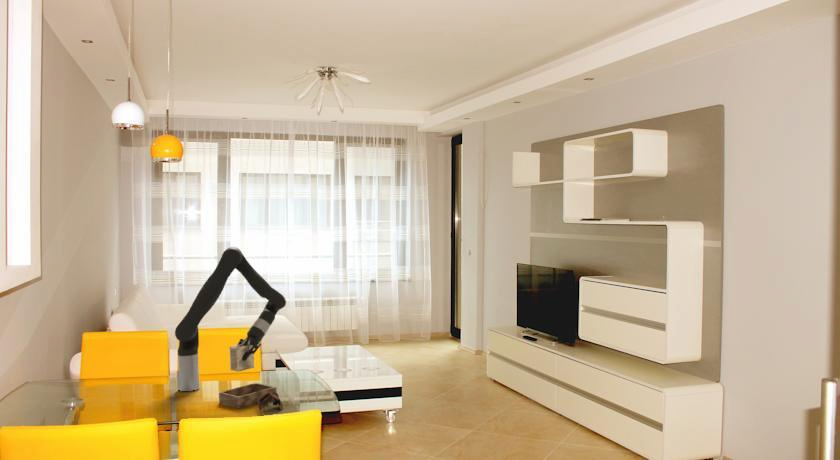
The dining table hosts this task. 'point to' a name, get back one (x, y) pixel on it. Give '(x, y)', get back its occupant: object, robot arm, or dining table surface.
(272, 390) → the walnut crate
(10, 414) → the dining table surface
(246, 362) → the birch crate
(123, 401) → the dining table surface
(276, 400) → the pottery mug
